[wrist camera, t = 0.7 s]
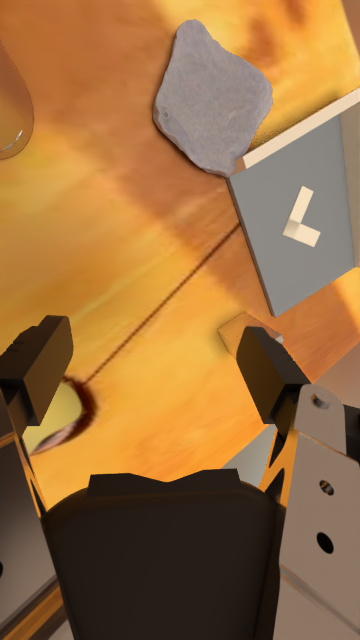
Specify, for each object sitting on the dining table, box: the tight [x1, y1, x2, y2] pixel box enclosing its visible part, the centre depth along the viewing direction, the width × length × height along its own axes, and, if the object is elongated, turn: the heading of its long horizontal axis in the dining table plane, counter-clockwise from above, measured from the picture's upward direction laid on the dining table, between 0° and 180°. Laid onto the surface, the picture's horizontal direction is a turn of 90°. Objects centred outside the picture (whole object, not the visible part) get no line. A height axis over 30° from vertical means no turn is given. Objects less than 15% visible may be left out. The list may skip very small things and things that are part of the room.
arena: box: [225, 87, 360, 318], centre depth 32 cm, size 24×18×5 cm
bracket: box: [217, 312, 284, 359], centre depth 34 cm, size 6×6×9 cm
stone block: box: [153, 19, 273, 177], centre depth 25 cm, size 12×5×10 cm
